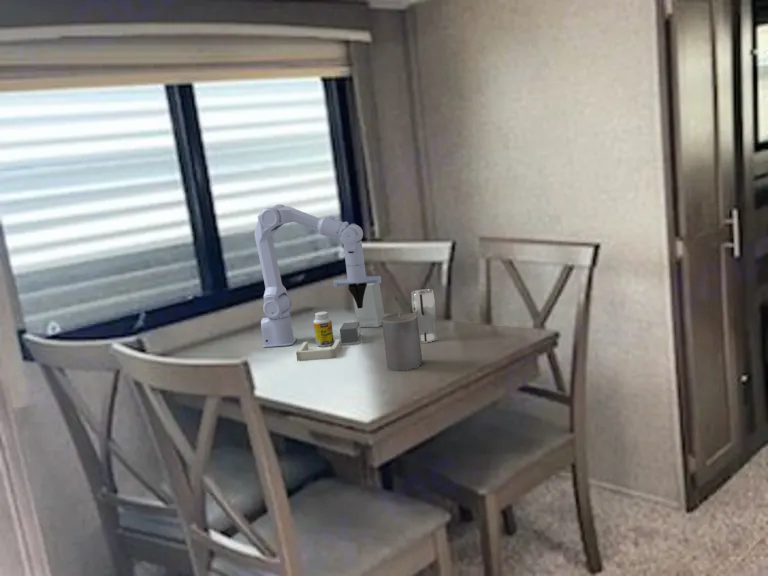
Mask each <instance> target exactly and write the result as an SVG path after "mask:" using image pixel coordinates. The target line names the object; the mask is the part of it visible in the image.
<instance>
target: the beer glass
mask: <svg viewBox="0 0 768 576" xmlns="http://www.w3.org/2000/svg"><path fill="white" fill-rule="evenodd" d="M410 293H411V310H412V313H415V314H416V315H417V319H418V328H419V337H420V344H426V343H427V344H428V342H430V343H433V342H432V341H434V342H435V340H436V341H437V340H438V337H437V334H436V329H435V323H436V299H435V294H434V290H433V289H428V288H427V289H426V288H425V289H417V290H413V291H411V292H410Z"/></svg>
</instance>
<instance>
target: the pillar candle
mask: <svg viewBox="0 0 768 576" xmlns="http://www.w3.org/2000/svg"><path fill="white" fill-rule="evenodd" d="M381 326H382V333H383V342H384V343H383V344H384V351H385V359H386V368H387V367H388V368H389V369H388V368H387V369H388V370H390V369H391V370H390V371H393V370H406V371H408V370H407V369H410V370H413V369H412V368H414V369H416V368H415V367H418V366H420V365H421V366H422V365H423V355H422V347H421V343H420V337H419V328H418V319H417V315H416V314H415V313H413V312H400V311H399V312H397V313H391V314H388V315H385V317H383V318H382V325H381ZM421 366H420V367H421ZM418 368H419V367H418Z"/></svg>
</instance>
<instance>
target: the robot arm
mask: <svg viewBox="0 0 768 576" xmlns="http://www.w3.org/2000/svg"><path fill="white" fill-rule="evenodd" d="M291 223H296V224H300V225H303V226H306V227H309V228H313V229H316V230H318V233H319V234H320V235H321V236H325V237H327V238H330V239H333V240H336V241H339V242H340V243H341V244H342V245H343V250H344V251H343V252H344V260H345V268H346V278H340V279H334V280H333V287H334V288H338V287H346V286H347V287H348V291H349V292H350V294H351V295H352V298H353V297H354V299H355V301H356V304H357V307H358V308H362V307H363V298H364V293H365V289H366V286H367V284H372V283H379V284H381V283H382V279H381V278H382V277H381V275H374V276H373V275H372V276H368V275H367V274H366V267H365V266H366V265H365V257H364V250H363V249H364V248H363V242H362V239H363V237H364V231H363V229H362V227H361V226H359V225H357V224H356V223H350V224H349V222H348V221H341V220H337V219H335V217H334V216H332V215H330V216H325V217H323V218H320V217H317V216H314V215H313V214H309V213H307V212H305V211H301V210H300V209H296V208H295V207H292V206H290V205H289V206H287V205H284V204H276V205H274V206H270V207H266V208H264V209H263V210H262V211H261V212H260V213H259V214H258V216H257V223H256V226H255V230H254V240H255V244H256V249H257V253H258V258H259V259H258V260H259V263H260V268H261V273H262V277H263V282H264V288H265V290H264V292H263V293H264V294H263V301H264V302H263V306H262V310H263V314H265V316H266V317H262V318H261V321H260V329H261V336H262V343H263V345H262V348H272V347H283V346H285V347H286V346H293V344H294V343H295V342H296V340H297V339H298V337H296V336H294V332H293V325H292V324H293V323H292V316H291V313H290V309H291V307H292V305H293V302H292V298H291V296H289V294H288V291H287V289H286V287H285V286H284V285H283V282H282V277H281V273H280V267H279V263H278V258H277V254H276V250H275V249H276V248H275V244H274V238H273V236H274V235H275V233H276V232H277V231H278V229H280V227H282V226H283V225H285V224H291ZM360 282H361V283H360Z"/></svg>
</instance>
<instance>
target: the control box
mask: <svg viewBox="0 0 768 576" xmlns="http://www.w3.org/2000/svg"><path fill="white" fill-rule="evenodd" d="M339 335H340V340H341V347H342V346H343V347H344V346H354V345H355V346H356V345H360V343H361V341H362V339H363V337H364V334H361V327H360V324H359V322H357V321H351V322H343V323H342V325H341V326H340V329H339Z"/></svg>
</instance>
